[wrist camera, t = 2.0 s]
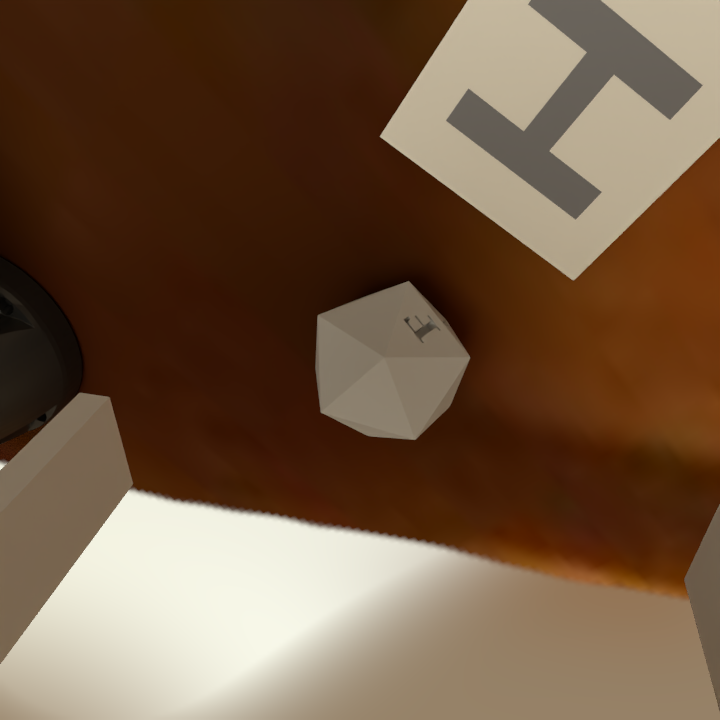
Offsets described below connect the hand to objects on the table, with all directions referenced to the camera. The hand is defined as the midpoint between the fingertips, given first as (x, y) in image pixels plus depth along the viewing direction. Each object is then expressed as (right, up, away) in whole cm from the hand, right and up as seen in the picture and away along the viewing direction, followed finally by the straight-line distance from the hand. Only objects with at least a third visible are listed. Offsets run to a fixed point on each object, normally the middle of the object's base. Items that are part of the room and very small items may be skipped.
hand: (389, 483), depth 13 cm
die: (+2, +5, +25) cm, 26 cm away
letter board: (+9, +15, +16) cm, 24 cm away
